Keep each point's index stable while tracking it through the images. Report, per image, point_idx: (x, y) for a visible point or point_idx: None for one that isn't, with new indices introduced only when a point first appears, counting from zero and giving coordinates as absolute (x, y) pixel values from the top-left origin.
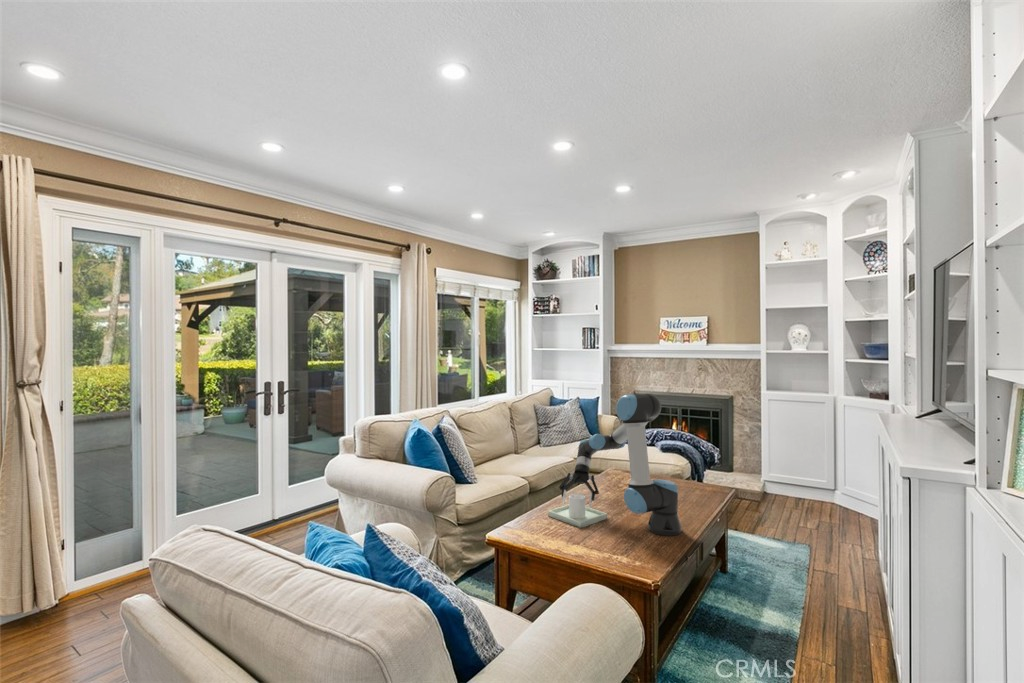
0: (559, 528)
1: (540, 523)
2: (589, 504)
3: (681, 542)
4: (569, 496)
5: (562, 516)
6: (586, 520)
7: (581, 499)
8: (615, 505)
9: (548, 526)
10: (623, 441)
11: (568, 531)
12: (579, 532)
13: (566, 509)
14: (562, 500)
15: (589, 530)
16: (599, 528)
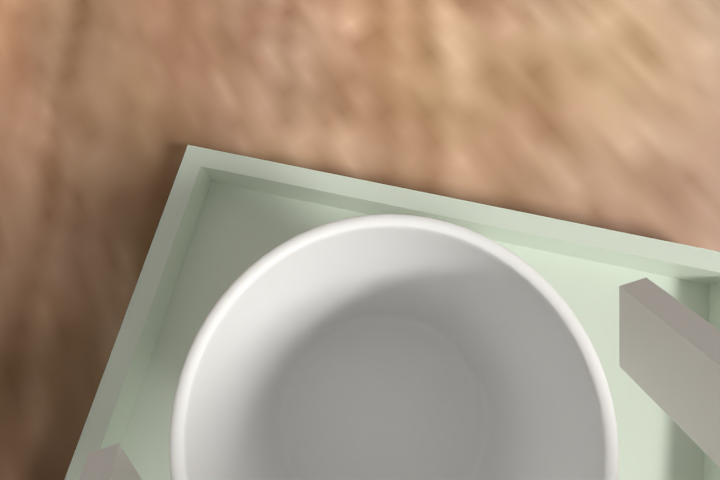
0: (380, 50)
1: (605, 45)
2: (108, 449)
3: None
4: (531, 277)
5: (479, 204)
6: (155, 252)
7: (215, 317)
8: None
9: (494, 31)
10: None
11: (272, 40)
12: (172, 77)
13: None
14: (653, 286)
15: (102, 173)
16: (21, 285)
